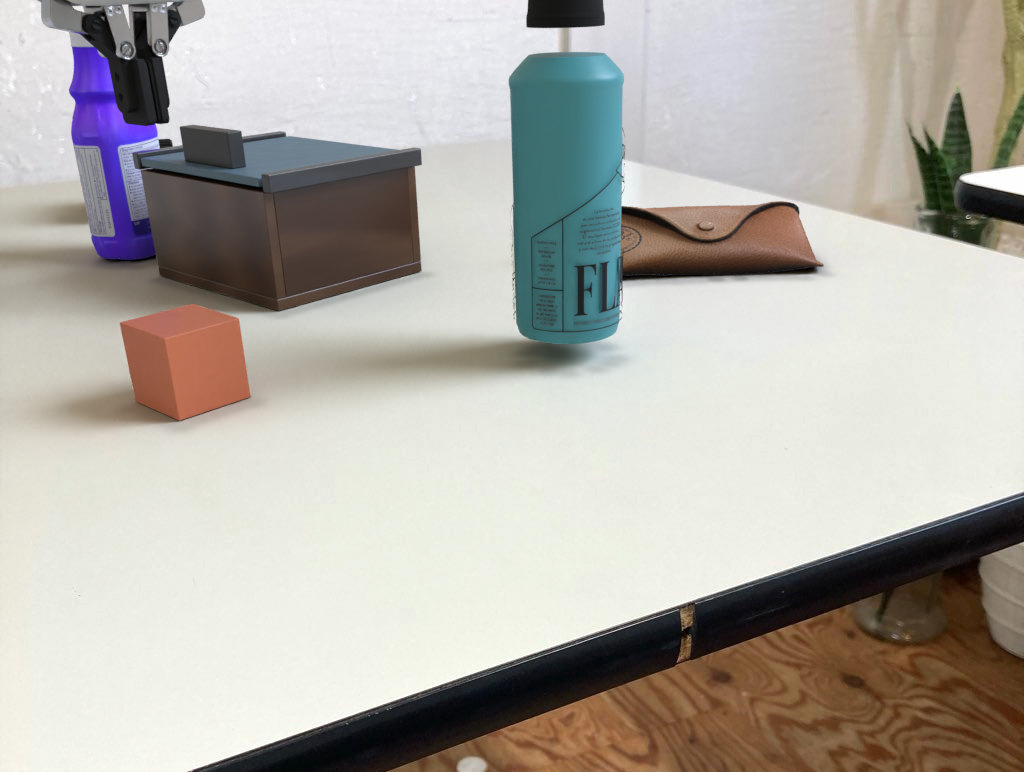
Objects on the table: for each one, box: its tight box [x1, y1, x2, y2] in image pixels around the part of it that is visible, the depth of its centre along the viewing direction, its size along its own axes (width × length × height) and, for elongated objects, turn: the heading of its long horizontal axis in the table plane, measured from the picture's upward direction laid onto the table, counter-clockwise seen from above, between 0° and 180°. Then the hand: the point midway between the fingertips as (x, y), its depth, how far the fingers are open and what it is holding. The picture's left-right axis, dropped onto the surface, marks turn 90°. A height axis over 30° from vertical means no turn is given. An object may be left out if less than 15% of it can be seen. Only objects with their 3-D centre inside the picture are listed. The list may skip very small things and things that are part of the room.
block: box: [119, 303, 251, 422], centre depth 56 cm, size 4×4×4 cm
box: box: [132, 130, 423, 312], centre depth 79 cm, size 17×14×9 cm
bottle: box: [68, 32, 160, 261], centre depth 84 cm, size 7×6×17 cm
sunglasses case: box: [620, 200, 825, 277], centre depth 80 cm, size 18×7×7 cm
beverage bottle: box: [508, 0, 626, 345], centre depth 58 cm, size 6×7×20 cm
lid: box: [141, 124, 398, 187], centre depth 77 cm, size 15×14×3 cm
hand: (147, 122), depth 69 cm, fingers closed
